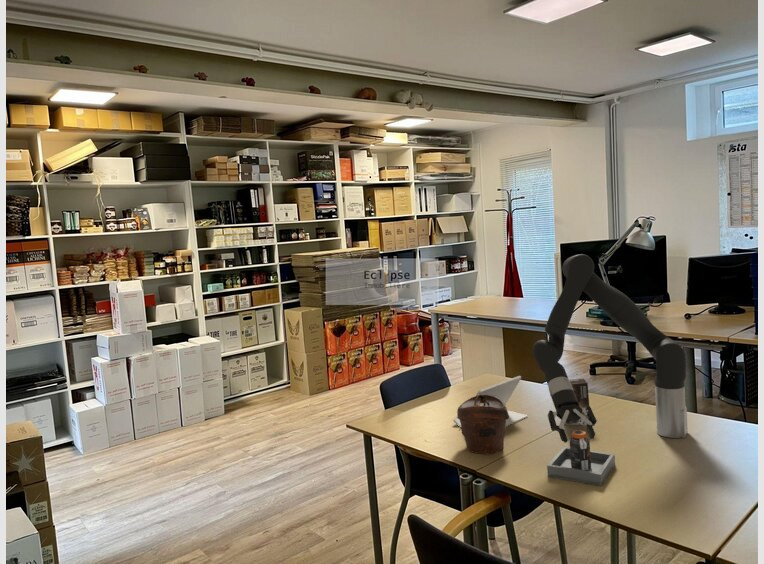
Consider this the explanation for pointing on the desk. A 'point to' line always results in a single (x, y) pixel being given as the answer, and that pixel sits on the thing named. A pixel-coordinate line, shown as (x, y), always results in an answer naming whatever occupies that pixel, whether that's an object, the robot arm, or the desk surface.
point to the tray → (594, 475)
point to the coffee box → (580, 394)
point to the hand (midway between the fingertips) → (579, 440)
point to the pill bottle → (580, 451)
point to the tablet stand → (502, 398)
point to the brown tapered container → (483, 423)
